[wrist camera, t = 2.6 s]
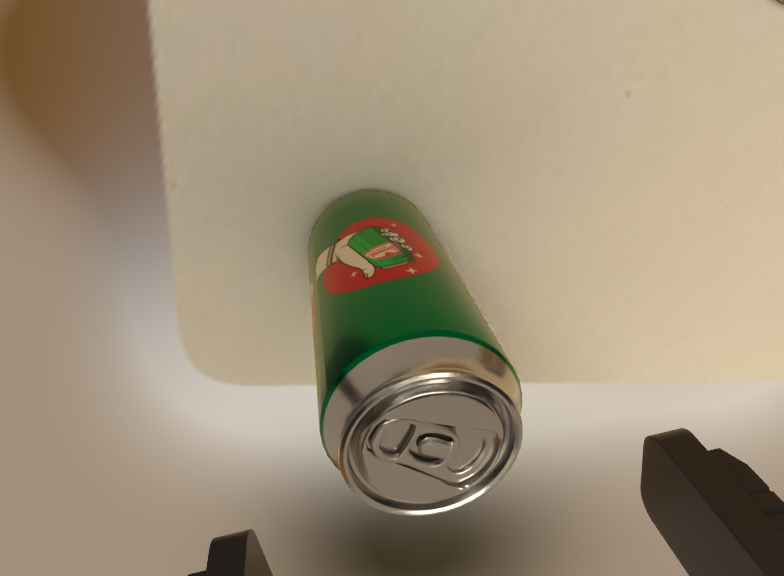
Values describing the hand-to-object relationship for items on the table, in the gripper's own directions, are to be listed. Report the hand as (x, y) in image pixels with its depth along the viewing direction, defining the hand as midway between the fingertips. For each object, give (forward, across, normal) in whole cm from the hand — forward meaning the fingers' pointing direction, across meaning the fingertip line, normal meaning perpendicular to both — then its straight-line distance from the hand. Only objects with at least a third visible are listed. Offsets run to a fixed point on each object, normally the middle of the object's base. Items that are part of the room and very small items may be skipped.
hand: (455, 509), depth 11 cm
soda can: (+14, 0, 0) cm, 14 cm away
